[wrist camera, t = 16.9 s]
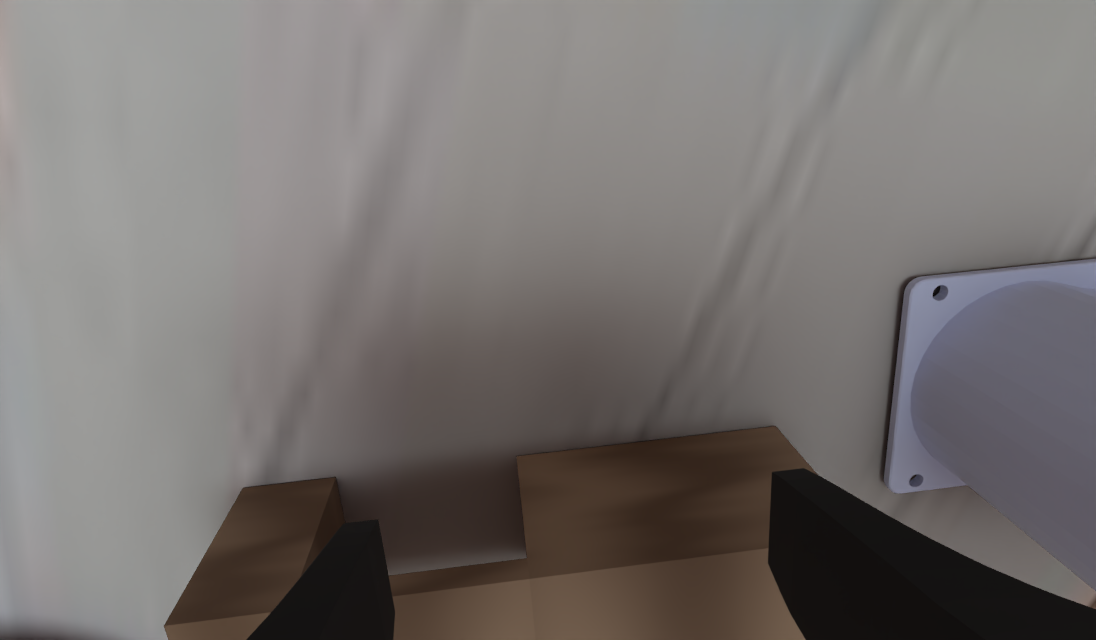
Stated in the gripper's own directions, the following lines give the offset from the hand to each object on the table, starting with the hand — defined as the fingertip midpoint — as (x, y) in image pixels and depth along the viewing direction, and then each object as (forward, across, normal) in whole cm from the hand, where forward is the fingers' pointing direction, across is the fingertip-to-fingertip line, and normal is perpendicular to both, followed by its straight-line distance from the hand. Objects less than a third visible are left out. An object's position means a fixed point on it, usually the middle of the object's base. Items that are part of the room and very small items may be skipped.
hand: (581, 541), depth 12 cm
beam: (+10, +1, +6) cm, 12 cm away
